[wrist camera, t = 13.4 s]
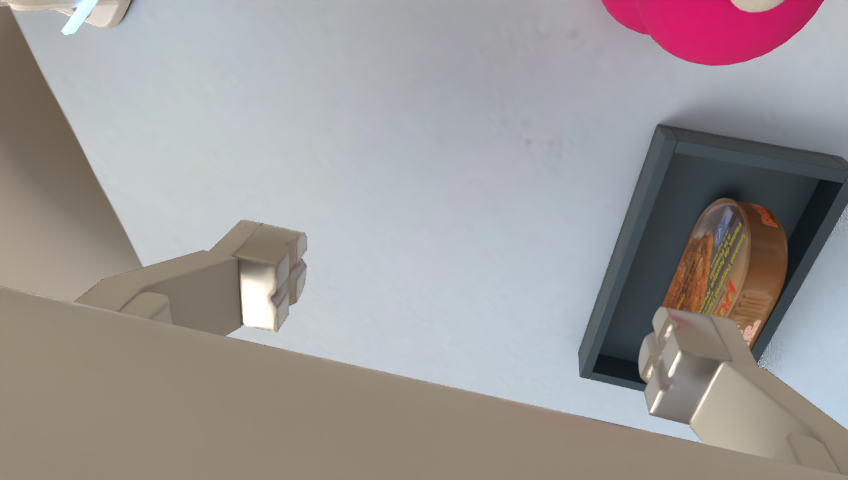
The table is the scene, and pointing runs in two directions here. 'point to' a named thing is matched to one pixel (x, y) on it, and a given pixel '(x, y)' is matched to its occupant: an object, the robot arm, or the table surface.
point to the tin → (732, 266)
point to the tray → (673, 224)
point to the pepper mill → (715, 25)
